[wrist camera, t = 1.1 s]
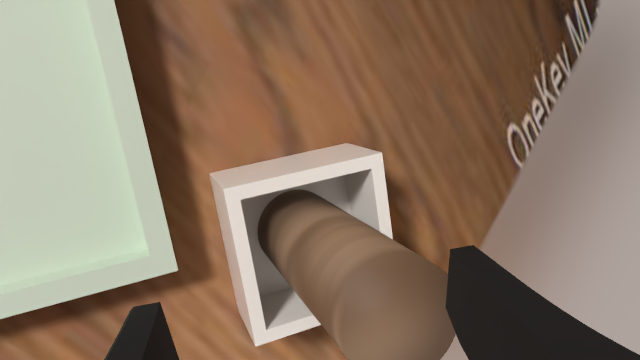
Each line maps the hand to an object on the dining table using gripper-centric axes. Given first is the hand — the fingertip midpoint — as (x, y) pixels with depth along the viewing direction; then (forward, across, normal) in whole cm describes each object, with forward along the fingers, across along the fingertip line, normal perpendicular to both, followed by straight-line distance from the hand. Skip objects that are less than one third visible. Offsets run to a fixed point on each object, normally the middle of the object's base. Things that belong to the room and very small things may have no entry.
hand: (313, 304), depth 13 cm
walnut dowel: (+11, -1, +6) cm, 13 cm away
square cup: (+12, 0, +6) cm, 14 cm away
